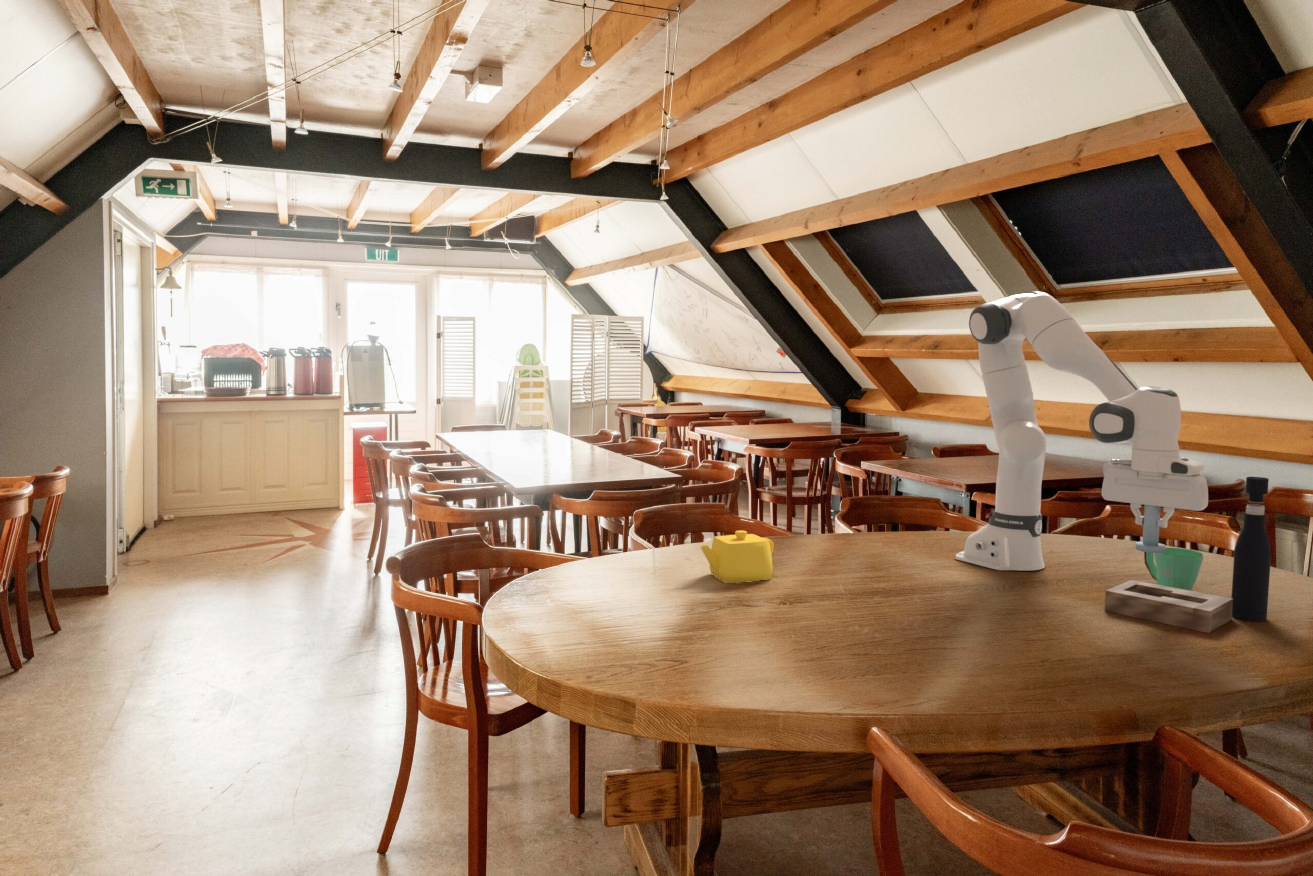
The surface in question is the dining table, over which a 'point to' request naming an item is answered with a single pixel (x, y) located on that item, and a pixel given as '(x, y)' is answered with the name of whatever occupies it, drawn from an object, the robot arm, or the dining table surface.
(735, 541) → the teapot
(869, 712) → the dining table surface
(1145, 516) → the peg
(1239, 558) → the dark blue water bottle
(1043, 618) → the dining table surface
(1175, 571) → the mug
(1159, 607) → the keyhole board
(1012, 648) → the dining table surface
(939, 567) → the dining table surface
